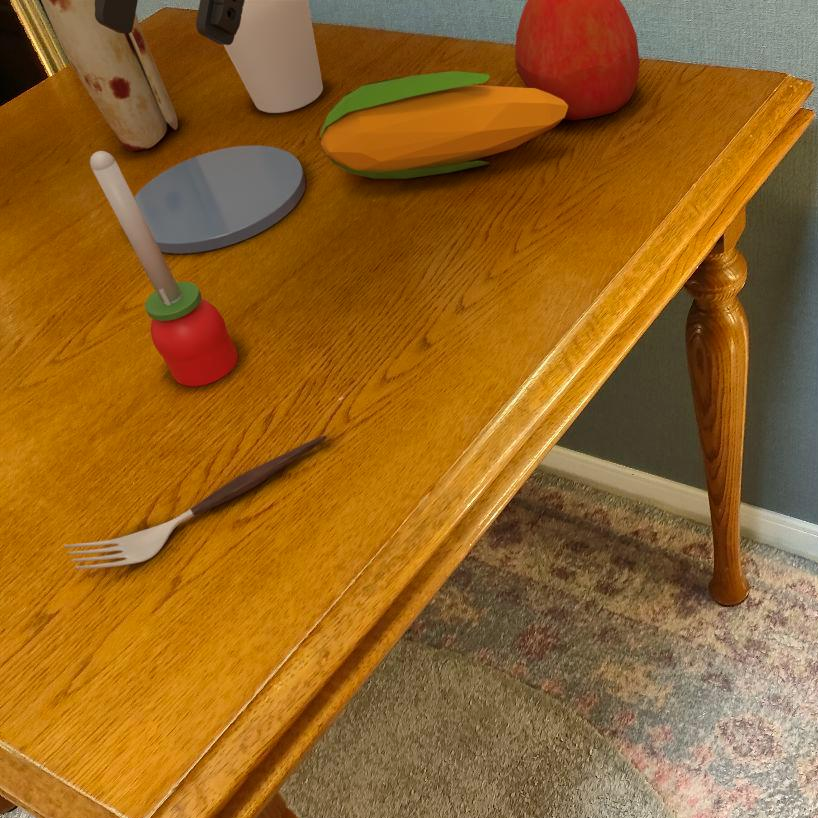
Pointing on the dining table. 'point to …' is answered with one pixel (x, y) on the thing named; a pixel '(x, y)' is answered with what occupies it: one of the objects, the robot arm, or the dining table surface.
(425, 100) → the corn
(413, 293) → the dining table surface
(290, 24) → the cup
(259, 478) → the fork
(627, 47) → the apple
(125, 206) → the strawberry fork
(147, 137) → the food model
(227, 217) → the plate
